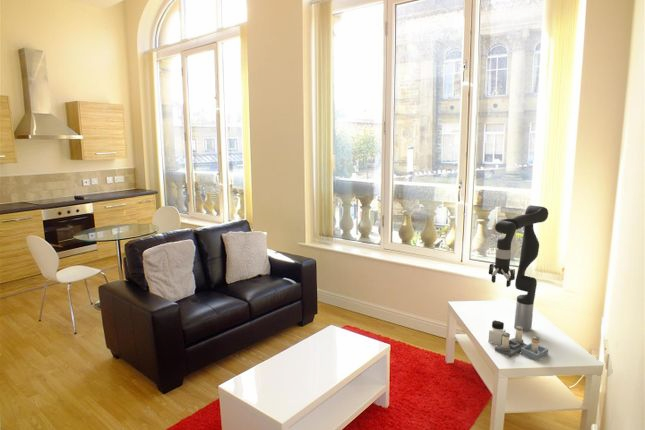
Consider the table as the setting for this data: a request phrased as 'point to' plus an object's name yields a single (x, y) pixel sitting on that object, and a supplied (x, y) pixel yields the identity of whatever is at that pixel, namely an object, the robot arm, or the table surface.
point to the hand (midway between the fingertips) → (500, 284)
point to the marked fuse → (535, 344)
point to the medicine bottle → (496, 332)
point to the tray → (541, 353)
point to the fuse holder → (511, 343)
